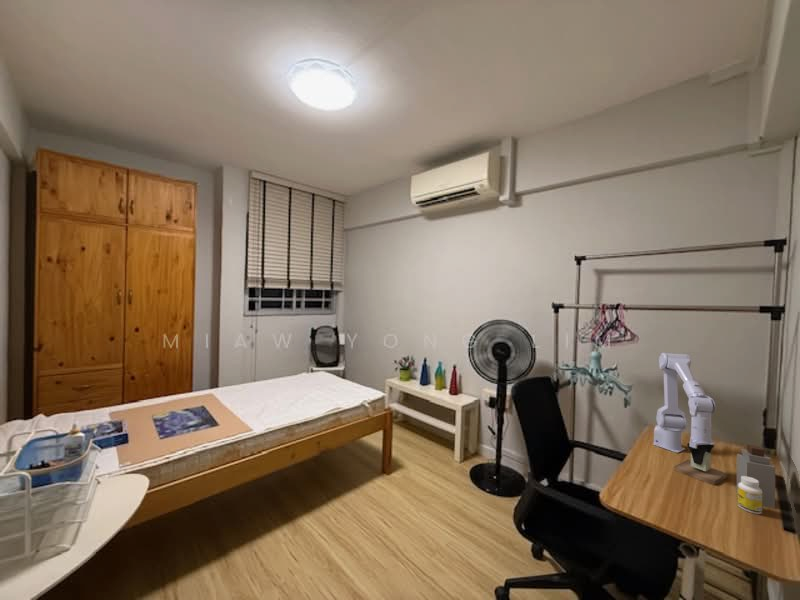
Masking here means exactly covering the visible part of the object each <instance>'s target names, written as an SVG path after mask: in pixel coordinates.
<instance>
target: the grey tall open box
mask: <svg viewBox="0 0 800 600" xmlns="http://www.w3.org/2000/svg"><path fill="white" fill-rule="evenodd" d="M740 451H741V454H739V453H737V454H736V493H737V494H738V484H739V483H740V482H741V476H747V477H751V478H754V479H756V480H758V481H759V488H760V489H761V490H762V507H766V508H770V509H771V508H772V509H775V508H776V507H775V506H776V466H774V465H773V464H772V463H771V461H772V458H771V457H769V456H768V455H767V454H765V453H766V450H765V449H764V448H763V447H761V446H760V445H754V444H748V443H746V449H744V448H741V449H740Z"/></svg>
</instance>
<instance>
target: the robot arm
mask: <svg viewBox="0 0 800 600" xmlns="http://www.w3.org/2000/svg"><path fill="white" fill-rule="evenodd" d="M658 361H659V362H658V365H659V370H661V371H663V372H662V373H663V392H664V394H663V395H664V397H663V398H664V405H663V406H661V407H659V408H658V409H657V411H656V413H657V414H656V417H655V418H656V419H655V420H656V423H657V424H656V425H655V427H654V429H653V445H654V446H656V447H659V448H662V449H665V450H667V451H671V452H673V453H677V454H679V453H680V452H682V451H685V450H686V448H685V447H684V446H683V447H682V433H683V432H684V430H686V429H687V427H688V420H687V418H686V413H685V412H684V411H683V410H681V409H680V408H679V387H678V386H679V385H678V384H679V383H678V376H679V377H680V379H681V380H682V381H683V384H682V388H683V390H684V392H685V394H686V396H687V398H688V401H687V405H688V408H689V414H690V415H691V416H690V417H691V421H690V424H691V425H690V436H689V439H690V440H689V442H688V443H686V446H687V448H688V449H689V451H690V455H691V454H692V457H693V461H694V463H696V464H699V465H701V464H702V462H703V457H704V454H705V452H708V453H711V451H712V450H713V448H715V445H716V442H715V441H712V439H713V438H712V437H713V436H712V414H714V413H715V411H716V403H715V401H714V399H713V398H712V397H710V396H709V395H707V394H706V392H705V390H704V389H703V387H702V385H701V383H700V382H698V381H696V380H695V377H694V376H693V373H692V370H691V365H692V358H691V357H690V355H689V354H687V353H684V354H683V353H669V352H668V353H667V352H661V354H660V355H659V357H658Z"/></svg>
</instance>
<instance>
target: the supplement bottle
mask: <svg viewBox="0 0 800 600" xmlns="http://www.w3.org/2000/svg"><path fill="white" fill-rule="evenodd" d="M737 505H738V507H739V508H740V509H742V510H744V511H746V512H748V513H751V514H754V515H761V514H763V506H762V490H761V489H760V488H759V481H758V480H756V479H754V478H751V477H747V476H741V482H740V483H739V484H738V493H737Z"/></svg>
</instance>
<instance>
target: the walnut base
mask: <svg viewBox="0 0 800 600" xmlns="http://www.w3.org/2000/svg"><path fill="white" fill-rule="evenodd" d="M673 469H674V471H676V472H678V473H682V474H683V475H686V476H689V477H691V478H694V479H697V480H700V481H702V482H705V483H707V484H710V485H712V486H717V484H719V483H720V482H722V481H723V480H726V479H727V477H728V473H726V472H724V471H723V470H722V471H721V470H718V469H715V468H713V467H711V469H709V470H707V471H703V470H700V469H698V468H695V467H692V466H691V459H686V460H683V461H682V462H680V463H678V464H675V466H674V468H673Z"/></svg>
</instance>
